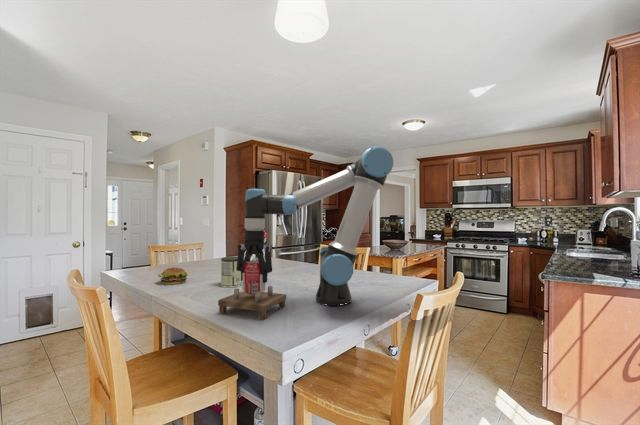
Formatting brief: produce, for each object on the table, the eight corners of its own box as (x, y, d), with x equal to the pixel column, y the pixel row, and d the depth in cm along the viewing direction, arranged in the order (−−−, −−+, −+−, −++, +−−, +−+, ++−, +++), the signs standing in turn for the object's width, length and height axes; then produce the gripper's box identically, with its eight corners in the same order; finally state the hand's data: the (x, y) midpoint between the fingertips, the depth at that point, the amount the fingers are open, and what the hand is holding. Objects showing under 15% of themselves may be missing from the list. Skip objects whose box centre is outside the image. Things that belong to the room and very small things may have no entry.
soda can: (256, 289, 122) (256, 259, 122) (266, 293, 117) (267, 261, 117) (240, 292, 117) (240, 261, 117) (250, 296, 112) (251, 263, 112)
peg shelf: (286, 307, 121) (286, 285, 122) (263, 320, 105) (263, 295, 106) (245, 302, 128) (245, 281, 128) (218, 313, 112) (218, 290, 112)
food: (157, 281, 166) (157, 266, 166) (185, 279, 173) (186, 265, 173) (157, 286, 154) (158, 270, 154) (188, 284, 161) (188, 268, 161)
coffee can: (225, 282, 164) (226, 256, 165) (244, 283, 163) (244, 256, 164) (217, 287, 154) (217, 259, 154) (237, 288, 153) (237, 259, 153)
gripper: (282, 230, 117) (281, 290, 117) (238, 228, 124) (237, 286, 124) (272, 230, 110) (271, 295, 110) (226, 229, 117) (225, 290, 117)
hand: (253, 290), depth 117 cm, fingers closed on soda can, 7 cm apart
